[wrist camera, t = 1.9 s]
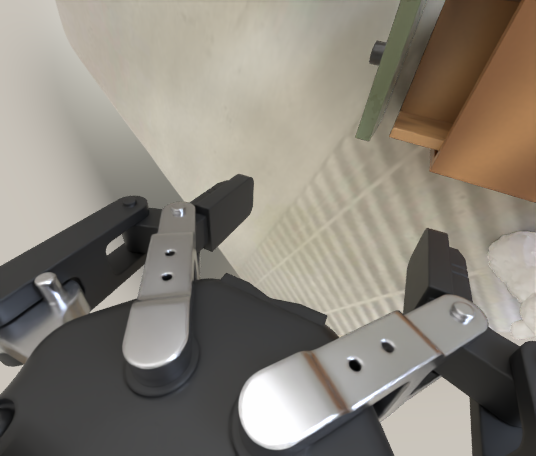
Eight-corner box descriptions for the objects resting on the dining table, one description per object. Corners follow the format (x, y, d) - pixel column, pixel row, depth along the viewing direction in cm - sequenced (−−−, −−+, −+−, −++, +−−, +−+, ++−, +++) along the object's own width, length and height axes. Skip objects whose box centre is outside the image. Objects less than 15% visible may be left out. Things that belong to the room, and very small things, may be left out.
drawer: (358, 114, 28) (341, 133, 23) (407, -37, 21) (398, -59, 16) (519, 156, 24) (543, 191, 19) (648, -14, 17) (744, -32, 12)
